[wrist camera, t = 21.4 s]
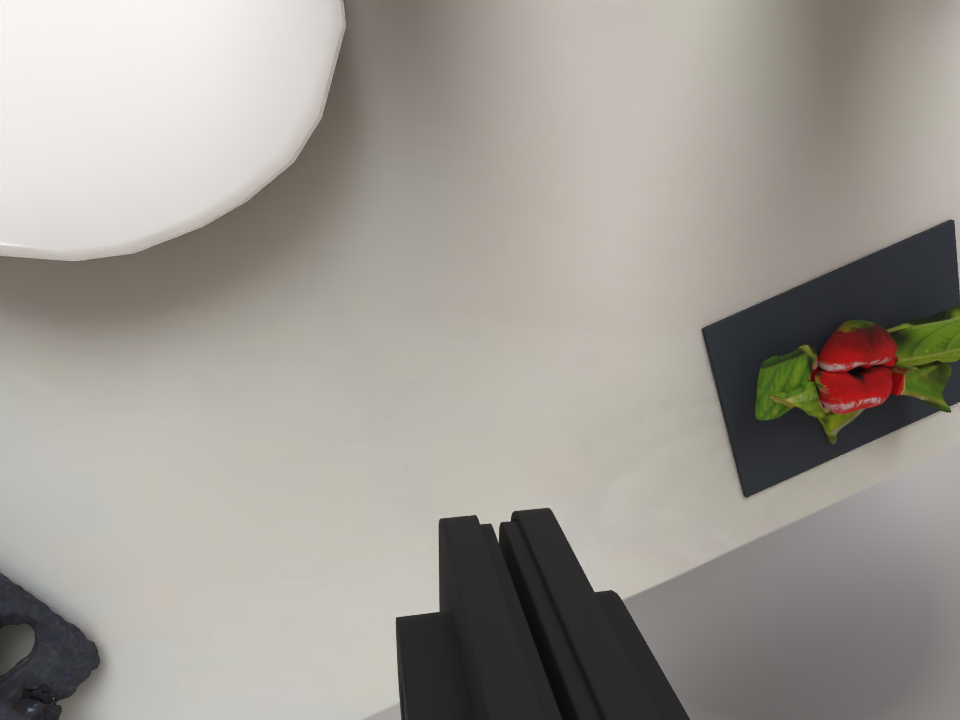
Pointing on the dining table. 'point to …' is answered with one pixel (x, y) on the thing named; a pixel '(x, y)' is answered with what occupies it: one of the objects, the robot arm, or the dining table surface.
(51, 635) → the dark slate chunk
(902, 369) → the decorative ornament
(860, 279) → the mat
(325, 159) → the dining table surface
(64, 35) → the plate
